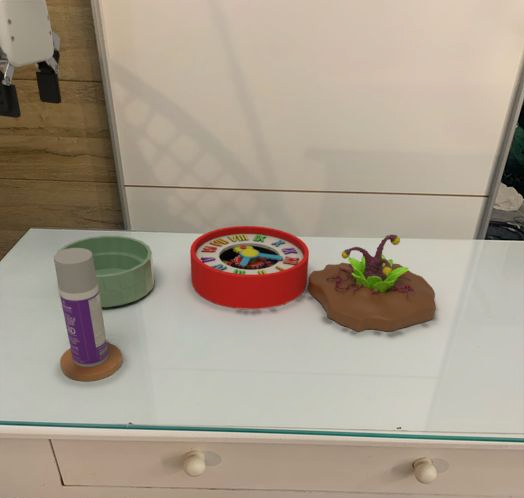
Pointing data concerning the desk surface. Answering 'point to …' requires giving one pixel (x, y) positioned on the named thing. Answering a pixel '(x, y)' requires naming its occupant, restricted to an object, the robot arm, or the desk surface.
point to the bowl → (119, 267)
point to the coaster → (91, 372)
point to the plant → (373, 292)
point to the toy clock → (249, 267)
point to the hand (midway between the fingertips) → (31, 109)
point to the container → (81, 306)
